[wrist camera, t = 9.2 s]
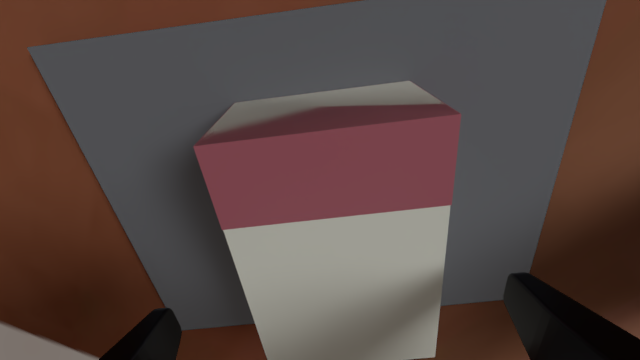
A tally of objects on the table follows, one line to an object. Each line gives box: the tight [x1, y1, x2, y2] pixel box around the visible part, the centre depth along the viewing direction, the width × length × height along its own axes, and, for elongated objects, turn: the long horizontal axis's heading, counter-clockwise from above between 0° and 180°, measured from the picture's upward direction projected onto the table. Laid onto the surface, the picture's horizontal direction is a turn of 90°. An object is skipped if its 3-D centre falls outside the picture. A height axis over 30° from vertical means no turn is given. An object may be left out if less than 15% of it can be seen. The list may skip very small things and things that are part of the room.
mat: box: [27, 0, 606, 330], centre depth 13 cm, size 18×14×1 cm
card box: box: [193, 81, 461, 360], centre depth 11 cm, size 9×6×4 cm, turn 7°
